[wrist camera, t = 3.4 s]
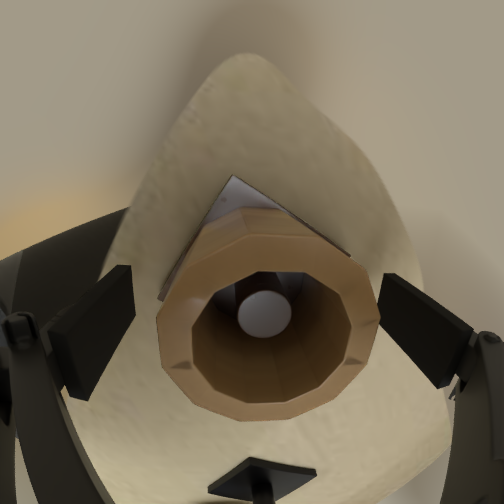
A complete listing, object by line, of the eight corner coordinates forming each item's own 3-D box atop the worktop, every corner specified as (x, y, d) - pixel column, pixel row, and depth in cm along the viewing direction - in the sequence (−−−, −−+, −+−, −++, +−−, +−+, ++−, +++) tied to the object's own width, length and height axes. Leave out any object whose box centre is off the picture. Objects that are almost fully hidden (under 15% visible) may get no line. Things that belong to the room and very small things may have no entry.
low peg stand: (160, 292, 17) (136, 339, 12) (232, 174, 15) (234, 173, 10) (270, 351, 19) (284, 406, 13) (345, 251, 17) (388, 282, 12)
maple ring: (161, 298, 16) (126, 372, 9) (233, 179, 15) (239, 181, 8) (271, 356, 18) (292, 437, 11) (347, 256, 16) (413, 306, 10)
